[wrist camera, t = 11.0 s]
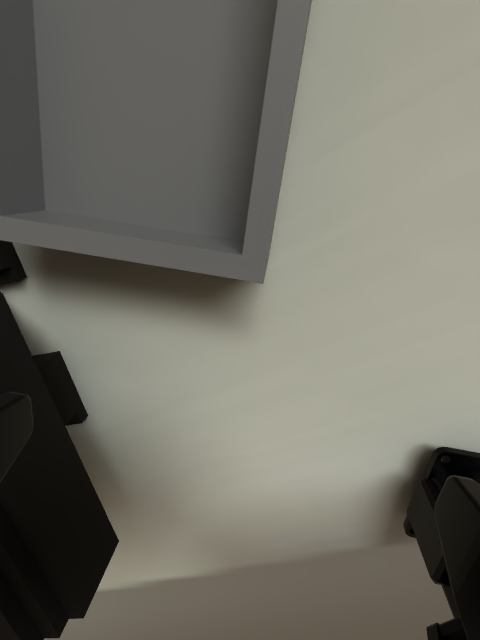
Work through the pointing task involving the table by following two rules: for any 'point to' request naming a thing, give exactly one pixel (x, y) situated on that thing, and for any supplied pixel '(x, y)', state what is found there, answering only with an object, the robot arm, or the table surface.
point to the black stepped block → (45, 494)
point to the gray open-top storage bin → (148, 127)
